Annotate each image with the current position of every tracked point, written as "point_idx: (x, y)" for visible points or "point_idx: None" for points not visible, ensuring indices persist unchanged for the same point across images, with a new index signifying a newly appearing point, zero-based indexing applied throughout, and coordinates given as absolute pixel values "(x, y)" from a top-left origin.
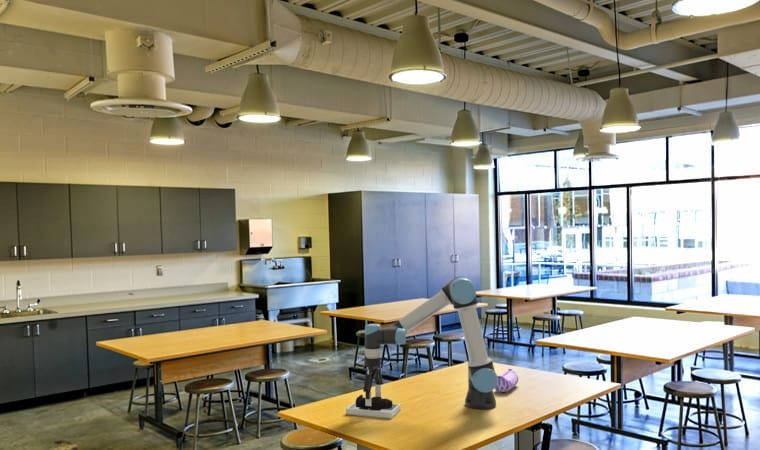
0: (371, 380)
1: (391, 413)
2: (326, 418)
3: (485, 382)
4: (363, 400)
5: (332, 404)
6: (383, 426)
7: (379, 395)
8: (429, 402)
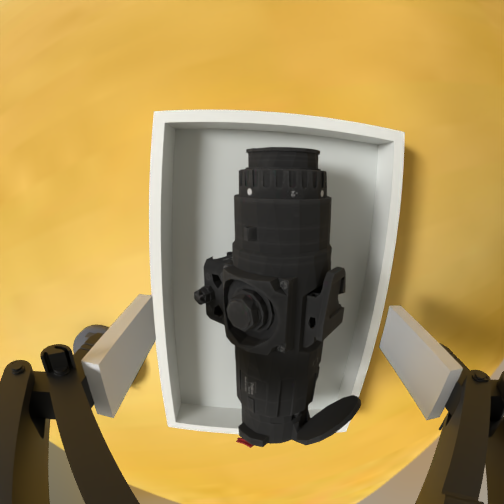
0: (480, 474)
1: (394, 131)
2: (391, 440)
3: None
4: (307, 397)
5: (184, 477)
6: (492, 165)
7: (143, 317)
8: (7, 54)
